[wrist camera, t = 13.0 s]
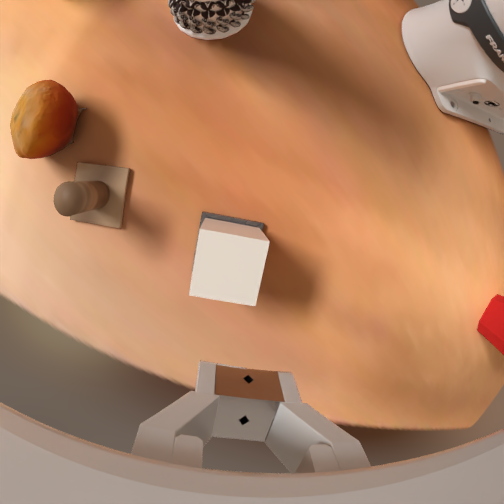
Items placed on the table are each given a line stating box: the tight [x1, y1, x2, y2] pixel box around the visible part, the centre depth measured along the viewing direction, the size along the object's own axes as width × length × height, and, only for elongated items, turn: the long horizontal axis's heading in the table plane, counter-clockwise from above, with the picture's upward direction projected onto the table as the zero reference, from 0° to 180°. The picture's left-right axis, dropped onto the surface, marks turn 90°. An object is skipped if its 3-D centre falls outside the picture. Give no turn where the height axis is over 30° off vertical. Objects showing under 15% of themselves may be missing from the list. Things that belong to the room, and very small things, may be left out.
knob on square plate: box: [54, 162, 130, 228], centre depth 24 cm, size 6×6×7 cm
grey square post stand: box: [192, 212, 264, 272], centre depth 26 cm, size 6×6×7 cm
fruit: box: [10, 80, 87, 159], centre depth 22 cm, size 8×8×8 cm
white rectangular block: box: [189, 218, 270, 306], centre depth 26 cm, size 5×5×7 cm
